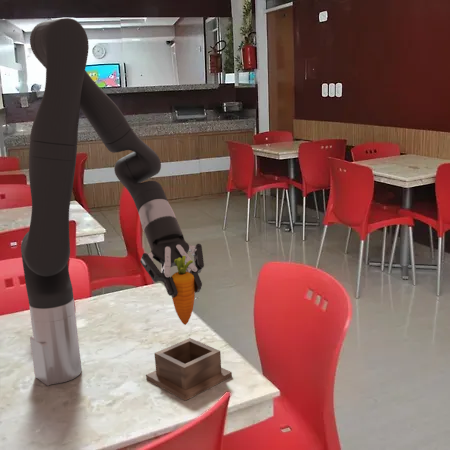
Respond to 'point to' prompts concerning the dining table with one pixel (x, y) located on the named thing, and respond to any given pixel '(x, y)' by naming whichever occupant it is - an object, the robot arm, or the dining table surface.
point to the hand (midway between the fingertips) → (186, 292)
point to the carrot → (183, 290)
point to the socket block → (188, 368)
